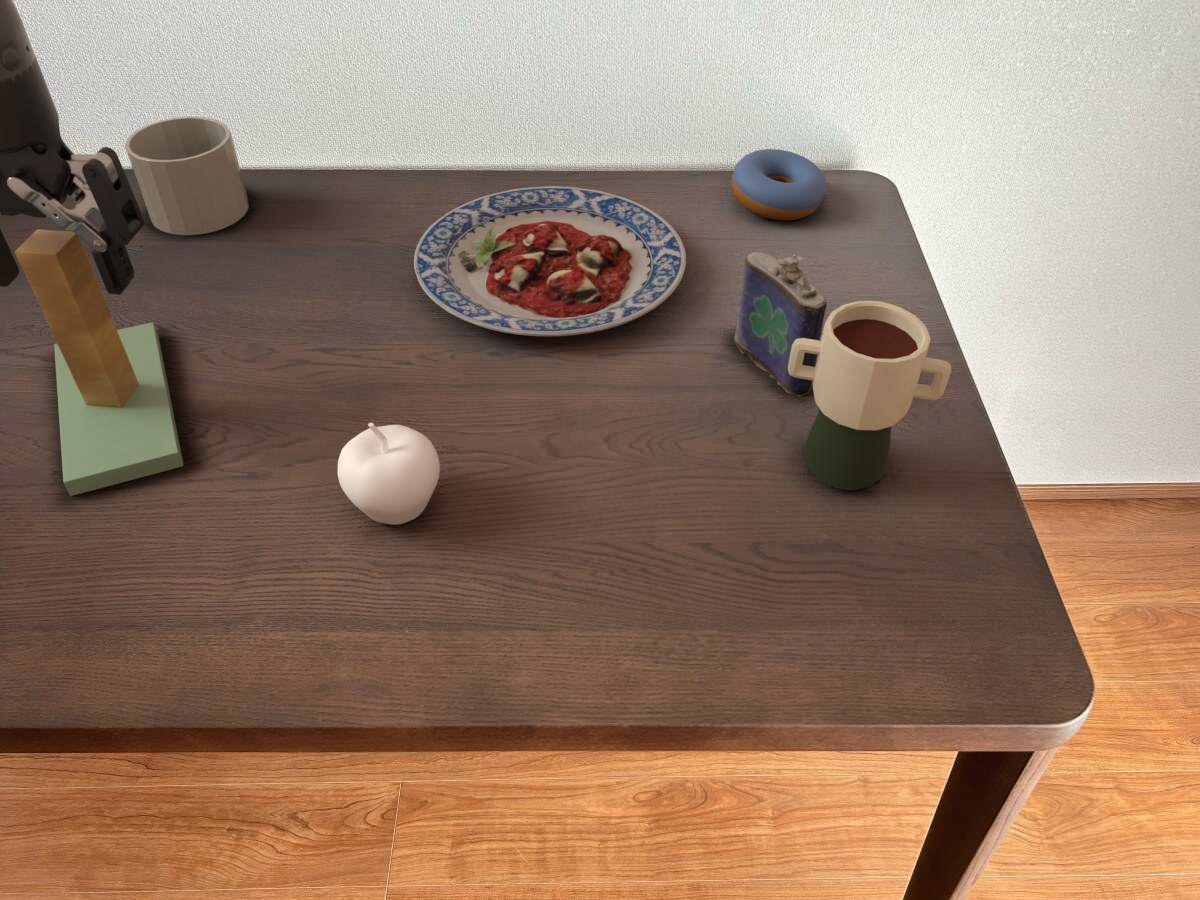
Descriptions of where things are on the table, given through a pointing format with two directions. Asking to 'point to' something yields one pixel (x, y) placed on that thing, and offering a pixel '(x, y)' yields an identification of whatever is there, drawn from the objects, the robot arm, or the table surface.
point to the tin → (188, 175)
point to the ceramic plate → (549, 261)
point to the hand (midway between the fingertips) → (64, 284)
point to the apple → (389, 472)
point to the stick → (78, 316)
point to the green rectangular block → (119, 422)
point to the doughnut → (778, 184)
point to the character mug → (863, 388)
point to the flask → (778, 316)
